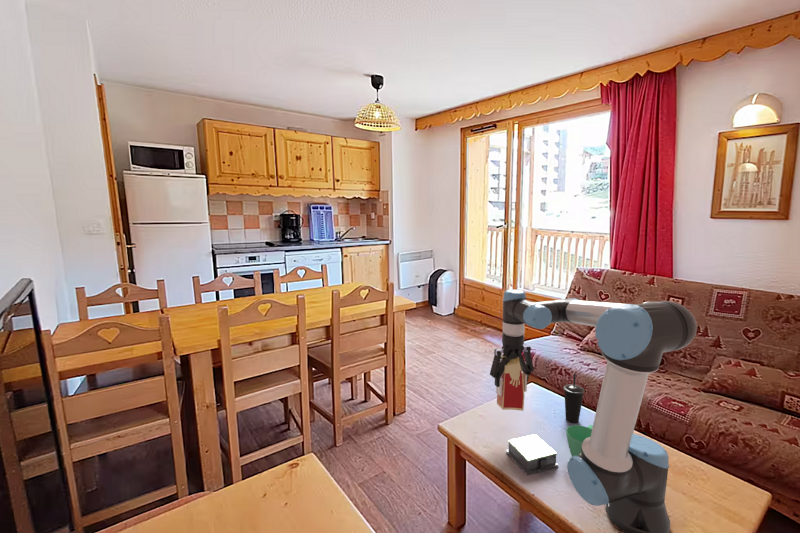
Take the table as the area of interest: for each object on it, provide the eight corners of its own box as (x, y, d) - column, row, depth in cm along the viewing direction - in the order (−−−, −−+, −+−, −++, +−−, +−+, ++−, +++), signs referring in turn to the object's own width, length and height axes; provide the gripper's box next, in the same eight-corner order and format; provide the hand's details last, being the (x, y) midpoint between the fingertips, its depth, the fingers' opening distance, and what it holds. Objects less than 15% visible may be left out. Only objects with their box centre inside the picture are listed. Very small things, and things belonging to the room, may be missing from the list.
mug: (589, 473, 124) (590, 445, 123) (559, 459, 131) (561, 432, 130) (606, 454, 134) (608, 428, 132) (578, 441, 141) (580, 416, 139)
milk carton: (518, 397, 144) (521, 347, 141) (524, 410, 135) (528, 357, 132) (493, 396, 145) (496, 346, 141) (498, 409, 136) (501, 356, 132)
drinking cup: (557, 417, 157) (560, 371, 154) (571, 413, 160) (573, 368, 157) (573, 427, 150) (576, 379, 147) (586, 422, 153) (589, 375, 150)
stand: (558, 467, 127) (559, 454, 126) (527, 475, 124) (528, 461, 123) (534, 446, 139) (535, 433, 138) (506, 452, 135) (506, 439, 134)
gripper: (533, 326, 142) (530, 383, 146) (480, 333, 136) (479, 392, 139) (546, 332, 135) (543, 392, 139) (491, 340, 129) (490, 402, 132)
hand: (511, 392), depth 139 cm, fingers closed on milk carton, 9 cm apart
